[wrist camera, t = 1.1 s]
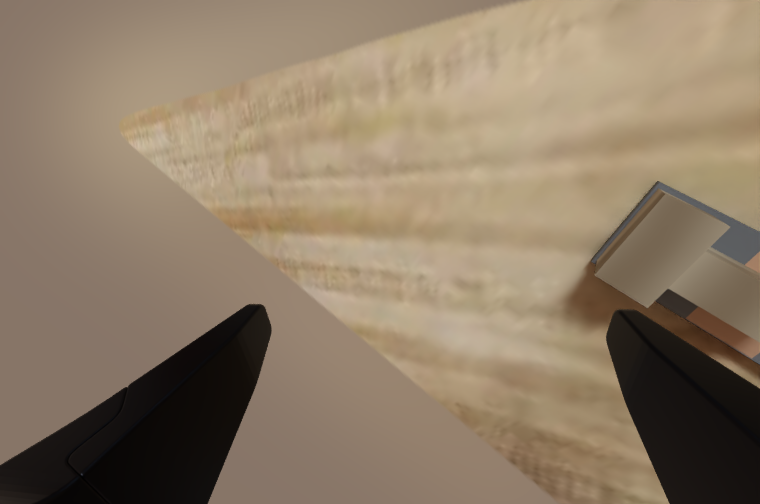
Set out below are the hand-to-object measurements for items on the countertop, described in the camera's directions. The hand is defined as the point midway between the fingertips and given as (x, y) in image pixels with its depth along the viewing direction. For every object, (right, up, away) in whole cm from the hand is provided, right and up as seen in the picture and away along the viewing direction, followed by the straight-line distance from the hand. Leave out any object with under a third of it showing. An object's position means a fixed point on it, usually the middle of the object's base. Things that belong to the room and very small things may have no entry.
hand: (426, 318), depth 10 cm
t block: (+14, +1, +8) cm, 16 cm away
